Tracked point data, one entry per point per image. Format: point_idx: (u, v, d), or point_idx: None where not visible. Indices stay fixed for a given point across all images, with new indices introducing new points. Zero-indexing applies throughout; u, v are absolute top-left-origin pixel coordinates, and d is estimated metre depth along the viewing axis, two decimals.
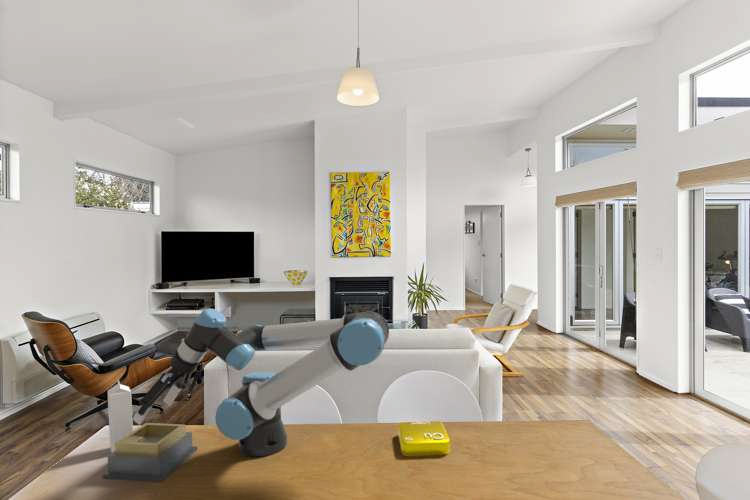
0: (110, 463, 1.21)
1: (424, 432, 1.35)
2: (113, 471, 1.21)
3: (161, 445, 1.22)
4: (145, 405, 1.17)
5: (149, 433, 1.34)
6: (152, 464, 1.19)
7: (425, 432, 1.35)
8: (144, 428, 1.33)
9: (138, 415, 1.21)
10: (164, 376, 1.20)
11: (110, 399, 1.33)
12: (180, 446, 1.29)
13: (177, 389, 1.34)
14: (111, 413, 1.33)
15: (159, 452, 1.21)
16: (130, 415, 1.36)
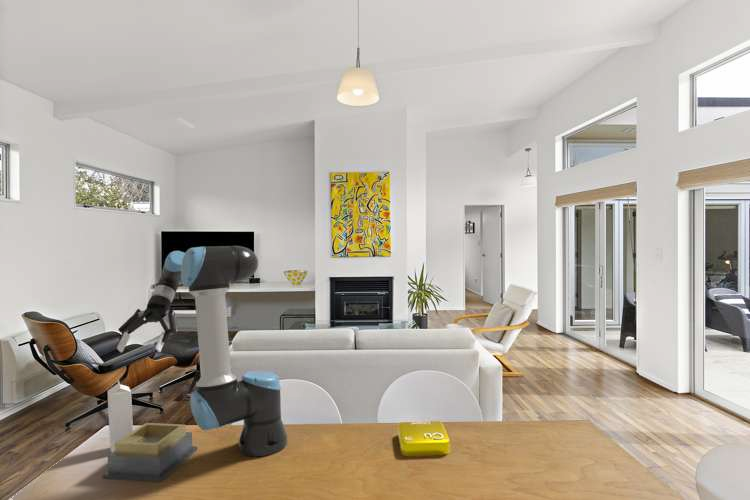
0: (110, 463, 1.21)
1: (424, 432, 1.35)
2: (113, 471, 1.21)
3: (161, 445, 1.22)
4: None
5: (149, 433, 1.34)
6: (152, 464, 1.19)
7: (425, 432, 1.35)
8: (144, 428, 1.33)
9: None
10: None
11: (110, 399, 1.33)
12: (180, 446, 1.29)
13: None
14: (111, 413, 1.33)
15: (159, 452, 1.21)
16: (130, 415, 1.36)
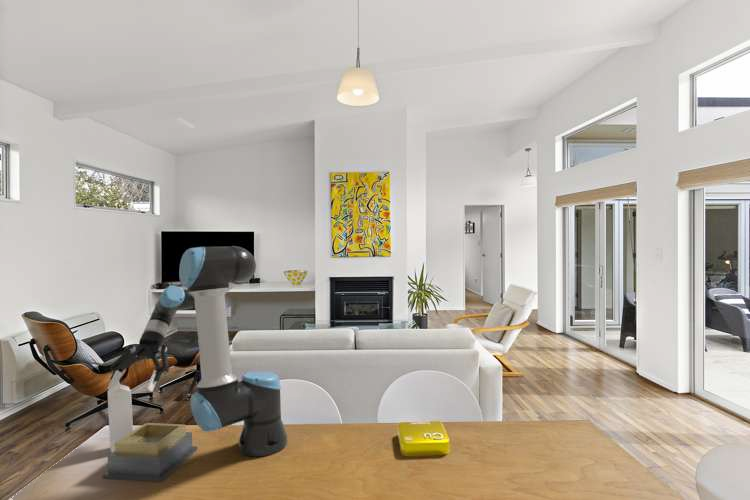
0: (110, 463, 1.21)
1: (423, 432, 1.35)
2: (113, 471, 1.21)
3: (161, 445, 1.22)
4: None
5: (149, 433, 1.34)
6: (152, 464, 1.19)
7: (425, 432, 1.35)
8: (144, 428, 1.33)
9: None
10: None
11: (110, 399, 1.33)
12: (180, 446, 1.29)
13: None
14: (111, 413, 1.33)
15: (159, 452, 1.21)
16: (130, 415, 1.36)
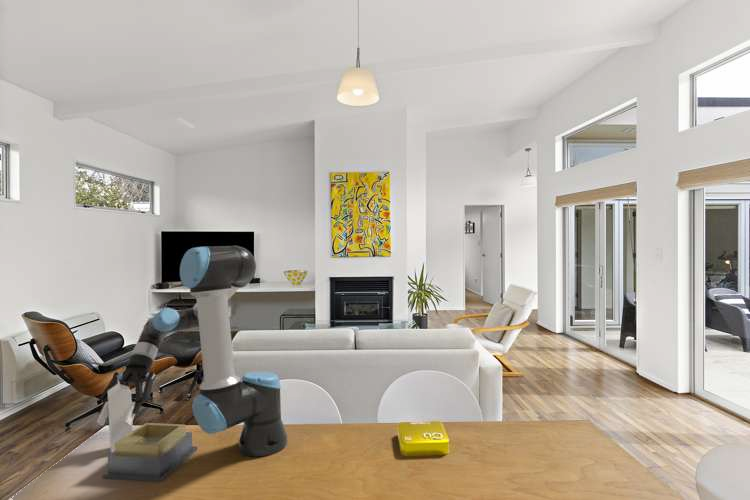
0: (110, 463, 1.21)
1: (423, 432, 1.35)
2: (113, 471, 1.21)
3: (161, 445, 1.22)
4: None
5: (149, 433, 1.34)
6: (152, 464, 1.19)
7: (424, 432, 1.35)
8: (144, 428, 1.33)
9: None
10: None
11: (110, 399, 1.33)
12: (180, 446, 1.29)
13: None
14: (111, 413, 1.33)
15: (159, 452, 1.21)
16: None
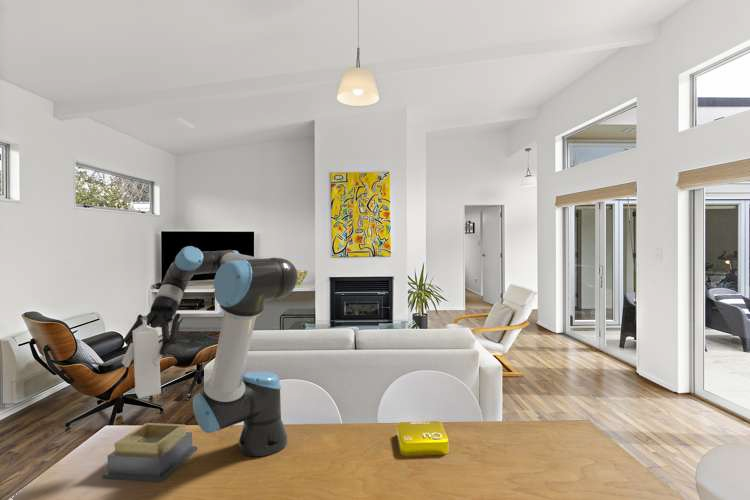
0: (110, 463, 1.21)
1: (423, 432, 1.35)
2: (113, 471, 1.21)
3: (161, 445, 1.22)
4: None
5: (149, 433, 1.34)
6: (152, 464, 1.19)
7: (424, 432, 1.35)
8: (144, 428, 1.33)
9: None
10: None
11: (136, 337, 1.24)
12: (180, 446, 1.29)
13: None
14: (137, 352, 1.24)
15: (159, 452, 1.21)
16: None
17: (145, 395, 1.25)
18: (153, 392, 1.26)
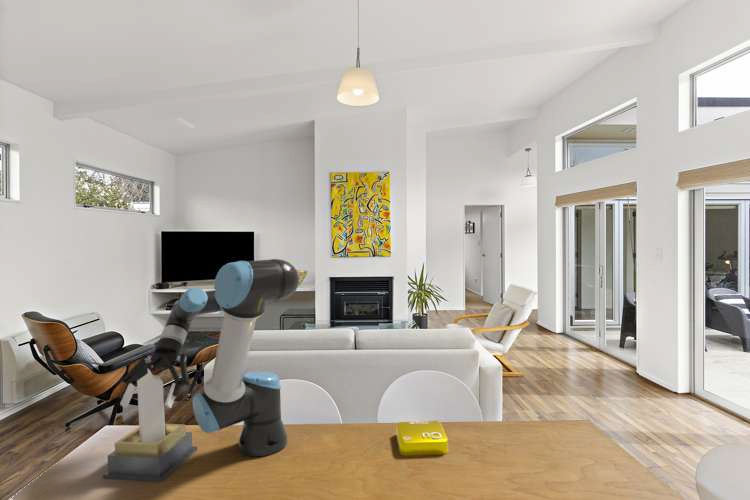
0: (110, 463, 1.21)
1: (422, 431, 1.36)
2: (113, 471, 1.21)
3: (161, 445, 1.22)
4: None
5: None
6: (152, 464, 1.19)
7: (423, 431, 1.35)
8: None
9: None
10: None
11: (141, 389, 1.23)
12: (180, 446, 1.29)
13: None
14: (142, 404, 1.24)
15: (159, 452, 1.21)
16: (162, 407, 1.27)
17: None
18: None
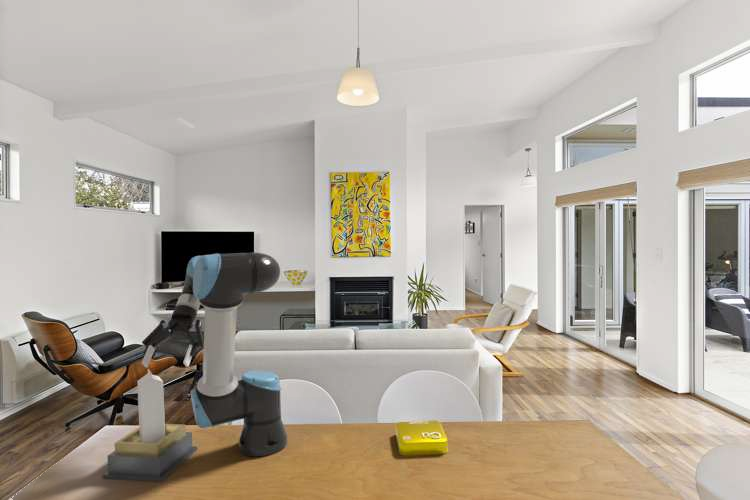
0: (110, 463, 1.21)
1: (422, 431, 1.36)
2: (113, 471, 1.21)
3: (161, 445, 1.22)
4: None
5: None
6: (152, 464, 1.19)
7: (423, 431, 1.36)
8: None
9: None
10: None
11: (141, 389, 1.24)
12: (180, 446, 1.29)
13: None
14: (142, 404, 1.24)
15: (159, 452, 1.21)
16: (162, 407, 1.27)
17: None
18: None
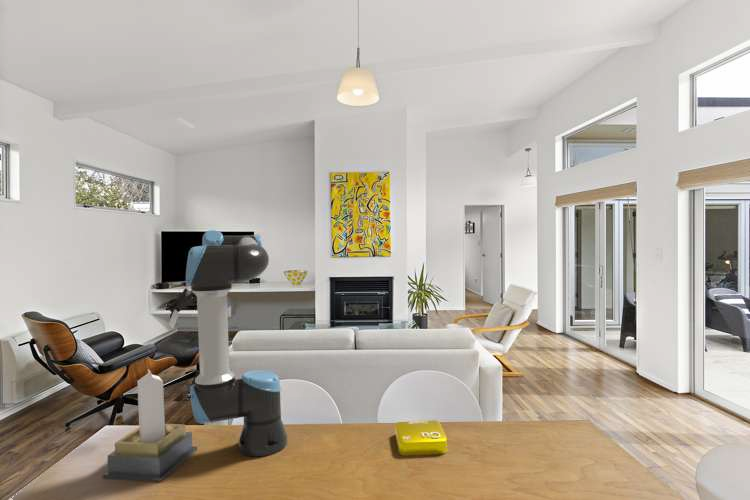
0: (110, 463, 1.21)
1: (421, 431, 1.36)
2: (113, 471, 1.21)
3: (161, 445, 1.22)
4: None
5: None
6: (152, 464, 1.19)
7: (422, 431, 1.36)
8: None
9: None
10: None
11: (141, 389, 1.24)
12: (180, 446, 1.29)
13: None
14: (142, 404, 1.24)
15: (159, 452, 1.21)
16: (162, 407, 1.27)
17: None
18: None
